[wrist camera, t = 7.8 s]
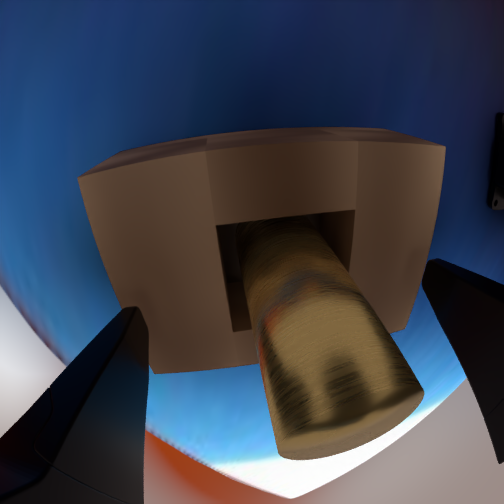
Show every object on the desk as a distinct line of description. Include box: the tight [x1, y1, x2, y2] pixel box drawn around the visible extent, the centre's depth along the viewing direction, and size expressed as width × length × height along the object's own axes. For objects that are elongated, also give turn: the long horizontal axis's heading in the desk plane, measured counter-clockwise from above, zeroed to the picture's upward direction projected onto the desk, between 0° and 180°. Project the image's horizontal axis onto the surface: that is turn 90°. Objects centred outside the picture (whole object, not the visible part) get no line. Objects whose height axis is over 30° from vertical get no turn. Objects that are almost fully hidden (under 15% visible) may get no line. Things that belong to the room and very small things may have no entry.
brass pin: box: [235, 215, 424, 460], centre depth 8 cm, size 3×3×8 cm
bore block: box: [78, 127, 446, 374], centre depth 10 cm, size 11×8×4 cm
